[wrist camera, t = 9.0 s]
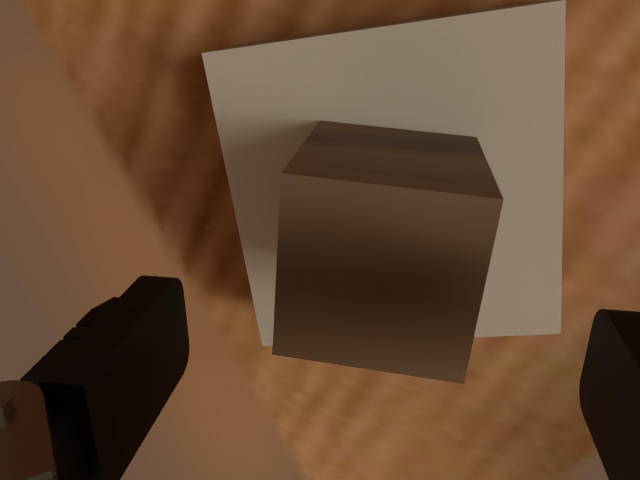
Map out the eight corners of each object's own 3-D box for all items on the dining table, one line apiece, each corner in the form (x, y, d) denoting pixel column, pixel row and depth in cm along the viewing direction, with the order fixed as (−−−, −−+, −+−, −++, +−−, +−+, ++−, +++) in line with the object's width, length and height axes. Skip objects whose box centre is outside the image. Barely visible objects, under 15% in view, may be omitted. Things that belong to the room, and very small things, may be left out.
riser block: (236, 44, 22) (201, 53, 18) (537, 0, 20) (565, -1, 16) (283, 297, 26) (262, 346, 22) (538, 282, 24) (560, 333, 20)
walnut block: (320, 120, 19) (280, 173, 13) (476, 137, 18) (503, 199, 13) (310, 258, 21) (272, 354, 15) (450, 277, 20) (463, 383, 15)
